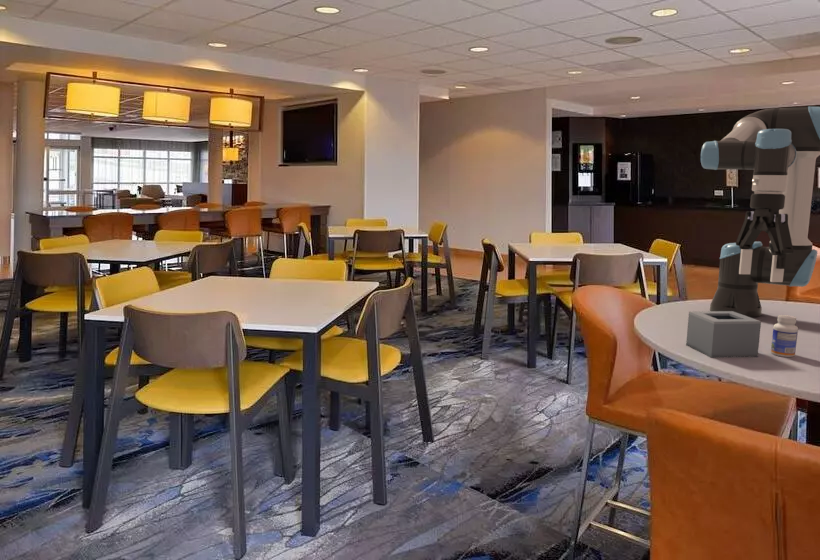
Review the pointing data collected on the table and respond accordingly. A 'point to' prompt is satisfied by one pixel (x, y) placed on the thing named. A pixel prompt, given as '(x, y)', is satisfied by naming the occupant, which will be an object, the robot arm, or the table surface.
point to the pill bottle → (784, 336)
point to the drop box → (723, 334)
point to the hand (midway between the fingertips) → (759, 278)
